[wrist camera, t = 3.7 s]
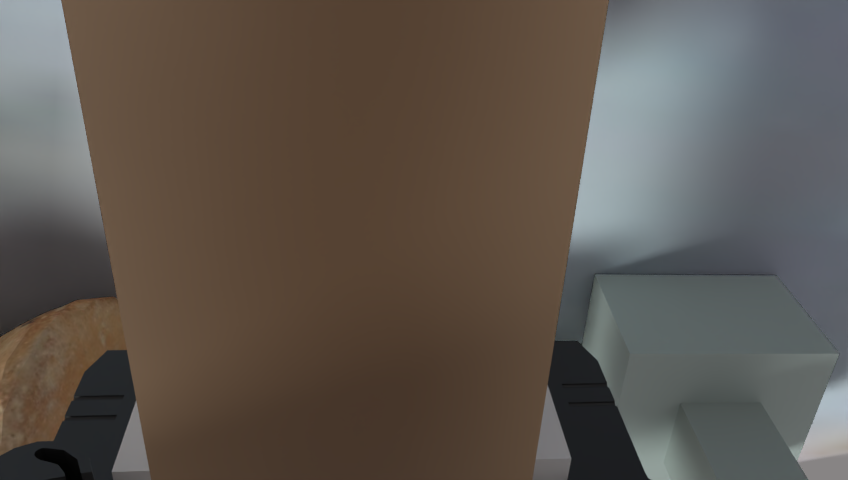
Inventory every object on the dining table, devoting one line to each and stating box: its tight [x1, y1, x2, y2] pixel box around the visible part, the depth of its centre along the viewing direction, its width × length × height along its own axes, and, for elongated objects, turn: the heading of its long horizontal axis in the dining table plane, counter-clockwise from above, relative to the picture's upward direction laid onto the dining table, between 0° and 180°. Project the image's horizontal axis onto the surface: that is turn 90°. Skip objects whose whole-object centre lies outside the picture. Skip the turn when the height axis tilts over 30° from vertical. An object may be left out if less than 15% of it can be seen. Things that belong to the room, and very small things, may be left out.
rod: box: [61, 0, 609, 480], centre depth 11 cm, size 4×22×4 cm, turn 177°
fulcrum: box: [582, 274, 839, 480], centre depth 23 cm, size 6×6×8 cm
